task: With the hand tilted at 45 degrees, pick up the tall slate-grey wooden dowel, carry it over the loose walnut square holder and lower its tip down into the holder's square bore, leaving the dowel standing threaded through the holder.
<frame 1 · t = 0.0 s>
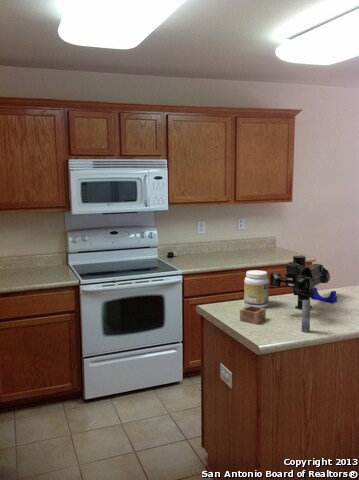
hand: (282, 285, 183), 17 cm above the table, tool horizontal, fingers open, 9 cm apart
cable clip: (323, 301, 217), on the table
walnut square holder: (252, 319, 189), on the table
slate dowel: (305, 331, 174), on the table
supplement tub: (256, 305, 211), on the table
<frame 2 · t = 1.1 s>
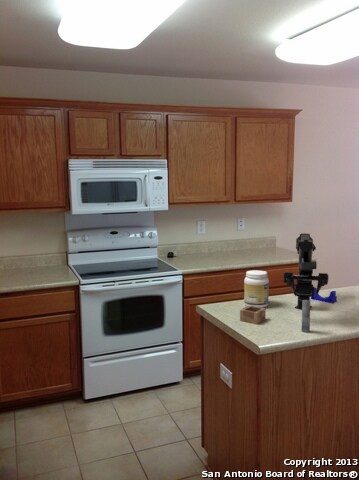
hand: (305, 295, 179), 13 cm above the table, tool tilted 45°, fingers open, 9 cm apart
nothing on the table moved.
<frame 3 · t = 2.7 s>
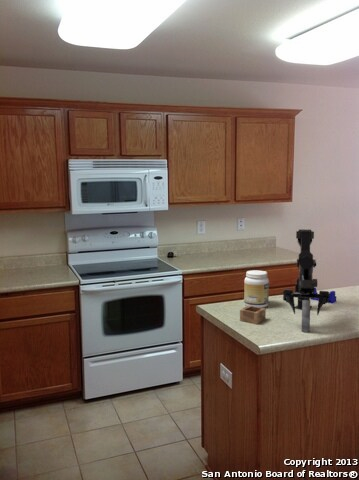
hand: (306, 313, 173), 8 cm above the table, tool tilted 45°, fingers open, 9 cm apart
nothing on the table moved.
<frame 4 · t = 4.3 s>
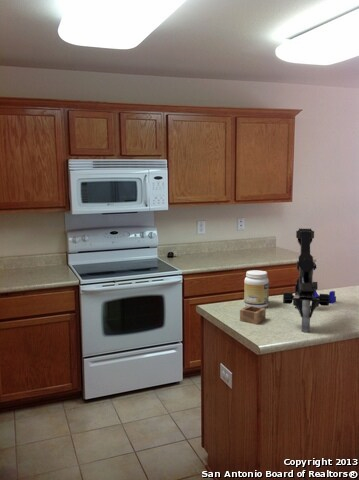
hand: (306, 317, 172), 7 cm above the table, tool tilted 45°, fingers closed on slate dowel, 3 cm apart
slate dowel: (305, 331, 174), on the table, touching gripper
everything else where it was.
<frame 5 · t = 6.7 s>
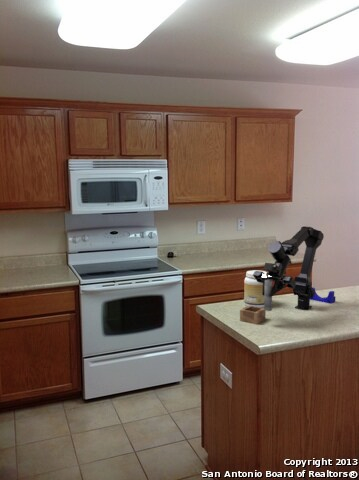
hand: (266, 295, 179), 14 cm above the table, tool tilted 45°, fingers closed on slate dowel, 3 cm apart
slate dowel: (268, 309, 181), point 7 cm above the table, touching gripper
when the fingers open (9 cm above the table, at t = 9.3 s): slate dowel drops 2 cm, resting in walnut square holder.
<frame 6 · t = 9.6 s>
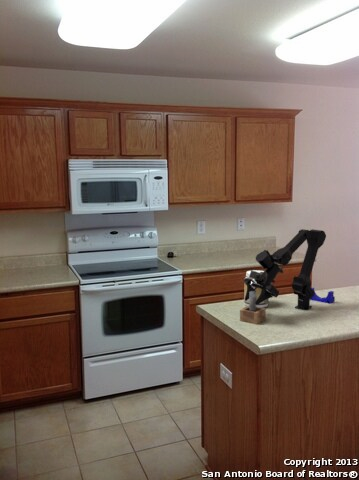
hand: (250, 302, 187), 9 cm above the table, tool tilted 45°, fingers open, 7 cm apart
slate dowel: (252, 320, 189), resting in walnut square holder
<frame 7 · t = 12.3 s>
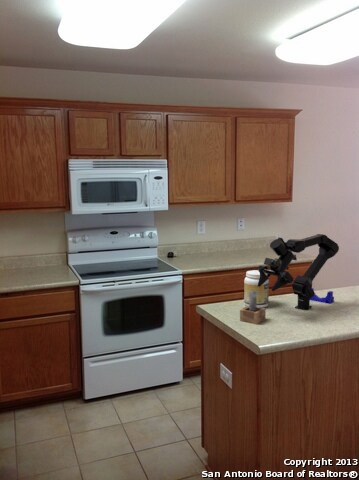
hand: (265, 288, 191), 14 cm above the table, tool tilted 45°, fingers open, 9 cm apart
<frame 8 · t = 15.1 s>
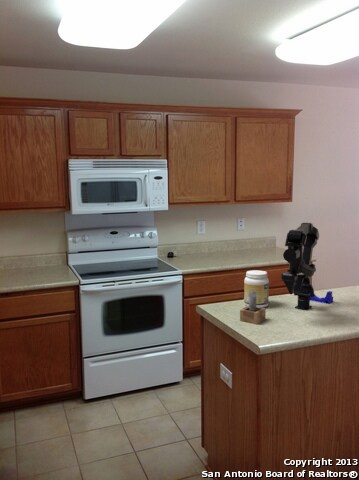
hand: (295, 291, 190), 12 cm above the table, tool pointing down, fingers open, 9 cm apart
at the end: slate dowel 0.0 cm from the walnut square holder (horizontally); slate dowel resting in walnut square holder; slate dowel tilted 0° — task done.
